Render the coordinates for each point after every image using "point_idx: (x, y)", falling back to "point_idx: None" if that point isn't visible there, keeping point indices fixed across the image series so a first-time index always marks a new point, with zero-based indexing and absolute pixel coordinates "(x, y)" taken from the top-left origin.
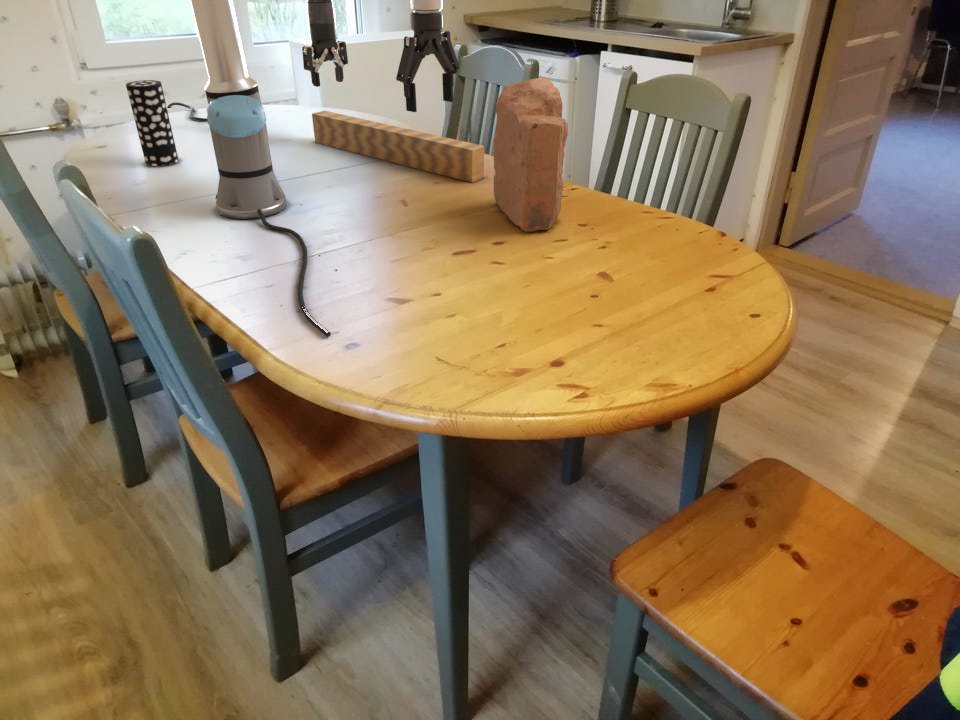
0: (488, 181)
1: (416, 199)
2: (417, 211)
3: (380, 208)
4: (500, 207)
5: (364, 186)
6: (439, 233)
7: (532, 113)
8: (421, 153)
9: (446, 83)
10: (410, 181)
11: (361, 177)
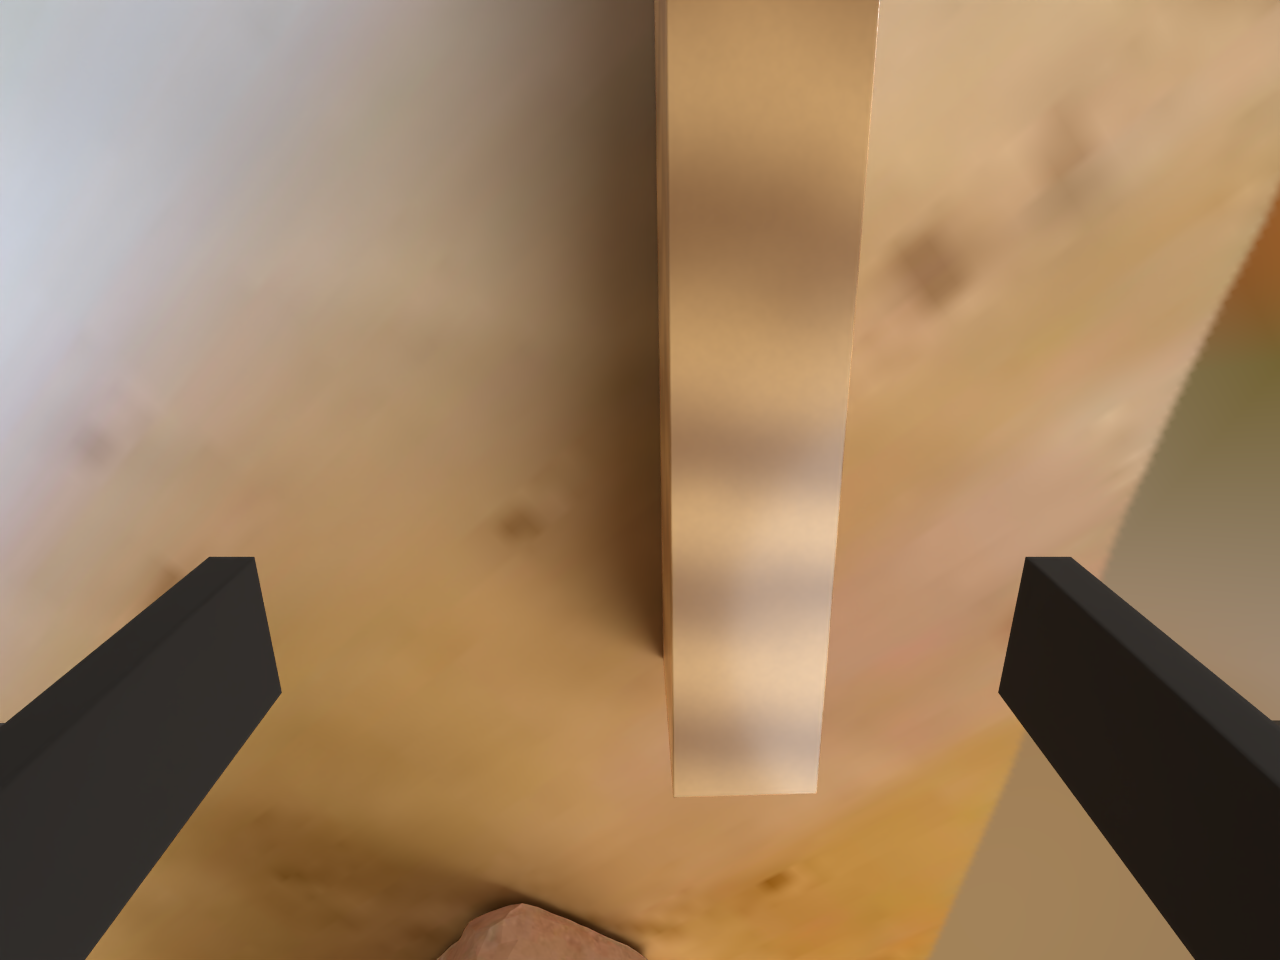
0: None
1: None
2: None
3: (5, 573)
4: (439, 958)
5: (120, 220)
6: None
7: None
8: (662, 284)
9: (1182, 818)
10: (425, 385)
11: (210, 36)
